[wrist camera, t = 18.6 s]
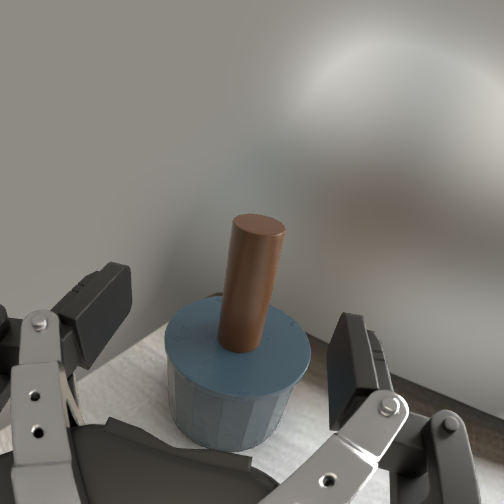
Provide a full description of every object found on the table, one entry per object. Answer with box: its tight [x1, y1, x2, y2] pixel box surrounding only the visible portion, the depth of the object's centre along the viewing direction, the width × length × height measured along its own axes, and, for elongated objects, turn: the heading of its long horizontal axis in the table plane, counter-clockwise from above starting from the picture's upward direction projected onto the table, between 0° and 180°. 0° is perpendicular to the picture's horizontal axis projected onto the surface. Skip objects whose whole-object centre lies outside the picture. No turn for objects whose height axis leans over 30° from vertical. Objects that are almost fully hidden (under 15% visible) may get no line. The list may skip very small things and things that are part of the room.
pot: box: [167, 357, 293, 452], centre depth 22 cm, size 9×9×8 cm
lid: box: [165, 214, 311, 401], centre depth 19 cm, size 10×10×9 cm
